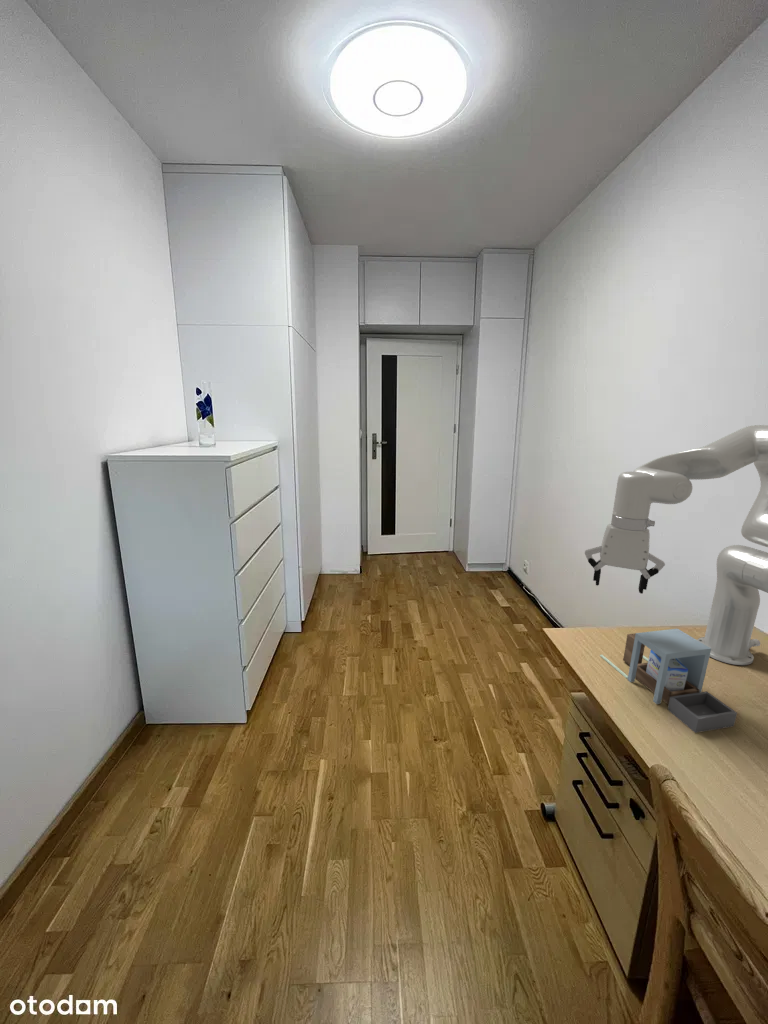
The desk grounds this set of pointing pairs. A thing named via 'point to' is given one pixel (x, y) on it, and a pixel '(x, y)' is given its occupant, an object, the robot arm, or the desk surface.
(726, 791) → the desk surface
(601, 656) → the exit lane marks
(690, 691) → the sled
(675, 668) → the medicine box
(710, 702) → the tray
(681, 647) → the tunnel
